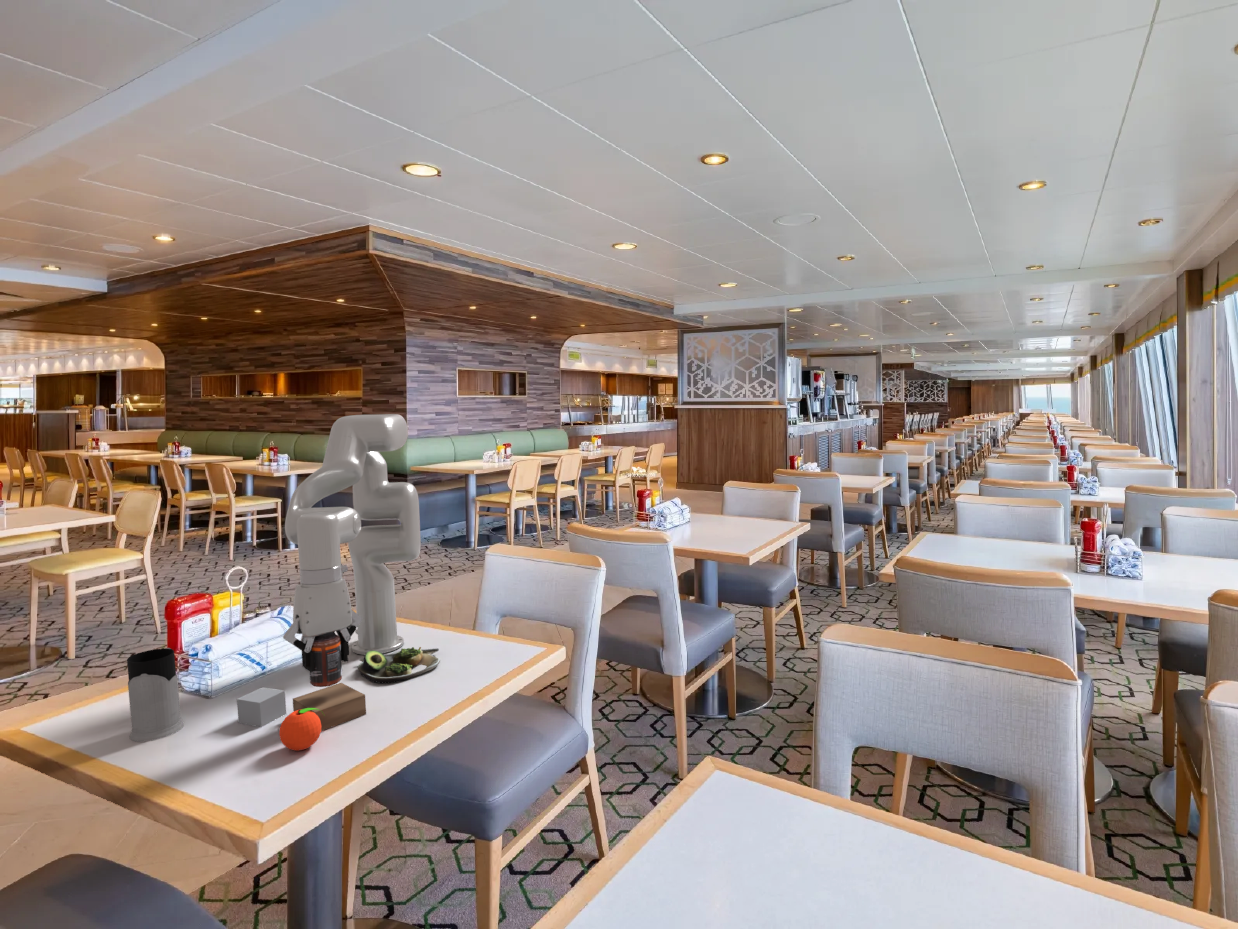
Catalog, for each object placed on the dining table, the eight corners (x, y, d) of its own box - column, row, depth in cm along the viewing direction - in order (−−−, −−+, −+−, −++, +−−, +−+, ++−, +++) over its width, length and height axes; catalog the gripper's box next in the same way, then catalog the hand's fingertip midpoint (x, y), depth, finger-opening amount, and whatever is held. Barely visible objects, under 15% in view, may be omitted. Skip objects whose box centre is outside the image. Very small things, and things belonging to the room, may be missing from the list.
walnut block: (293, 718, 135) (292, 698, 135) (342, 701, 143) (341, 682, 142) (316, 732, 129) (315, 712, 128) (366, 714, 136) (365, 694, 136)
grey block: (238, 723, 134) (236, 699, 133) (264, 710, 139) (262, 687, 139) (261, 727, 132) (259, 702, 131) (286, 714, 137) (284, 690, 137)
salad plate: (423, 648, 175) (422, 630, 175) (459, 665, 162) (458, 646, 162) (348, 669, 162) (347, 650, 161) (381, 690, 149) (380, 669, 148)
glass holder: (121, 744, 126) (114, 666, 125) (151, 712, 140) (145, 641, 139) (174, 737, 129) (168, 660, 127) (199, 706, 142) (193, 636, 141)
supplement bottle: (348, 676, 138) (345, 622, 137) (332, 689, 132) (330, 632, 131) (320, 675, 139) (317, 621, 138) (303, 687, 133) (301, 631, 132)
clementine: (316, 733, 129) (314, 697, 128) (335, 743, 124) (333, 706, 124) (273, 750, 122) (270, 712, 122) (291, 762, 118) (289, 722, 117)
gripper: (353, 565, 142) (358, 649, 144) (267, 581, 129) (273, 674, 131) (371, 569, 137) (376, 656, 139) (283, 587, 125) (290, 683, 126)
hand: (326, 664), depth 135 cm, fingers closed on supplement bottle, 6 cm apart
